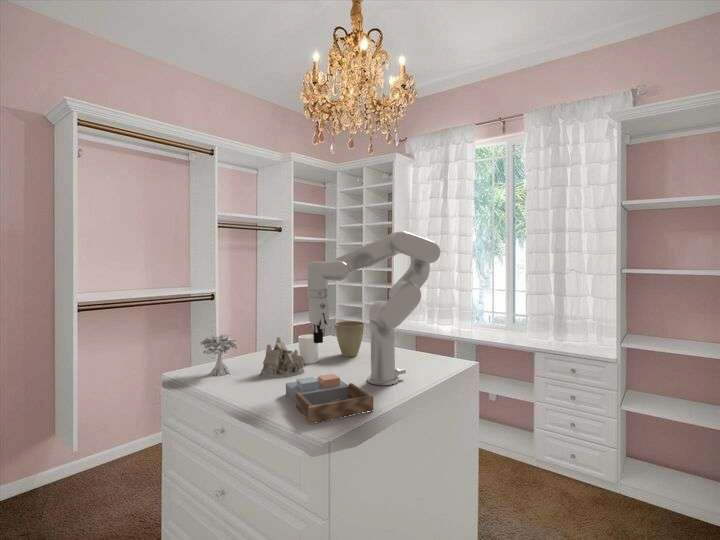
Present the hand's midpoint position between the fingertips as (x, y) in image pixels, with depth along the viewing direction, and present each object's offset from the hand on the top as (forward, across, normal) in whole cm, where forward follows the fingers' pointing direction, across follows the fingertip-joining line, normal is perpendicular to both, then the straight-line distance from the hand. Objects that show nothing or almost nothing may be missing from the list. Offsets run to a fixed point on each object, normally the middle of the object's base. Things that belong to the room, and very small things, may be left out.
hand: (318, 342), depth 154 cm
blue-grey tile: (+13, -10, +8) cm, 18 cm away
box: (+17, -24, +4) cm, 29 cm away
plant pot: (+17, +39, -31) cm, 53 cm away
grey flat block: (+17, -9, +4) cm, 20 cm away
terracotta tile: (+13, -10, 0) cm, 16 cm away
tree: (+17, +37, +31) cm, 51 cm away
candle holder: (+17, +37, -9) cm, 42 cm away
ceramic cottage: (+17, +24, +7) cm, 31 cm away
